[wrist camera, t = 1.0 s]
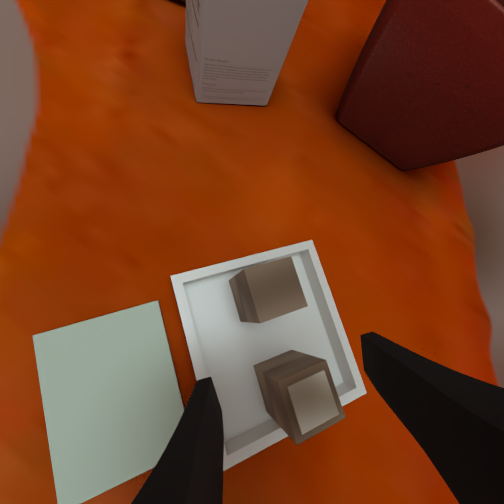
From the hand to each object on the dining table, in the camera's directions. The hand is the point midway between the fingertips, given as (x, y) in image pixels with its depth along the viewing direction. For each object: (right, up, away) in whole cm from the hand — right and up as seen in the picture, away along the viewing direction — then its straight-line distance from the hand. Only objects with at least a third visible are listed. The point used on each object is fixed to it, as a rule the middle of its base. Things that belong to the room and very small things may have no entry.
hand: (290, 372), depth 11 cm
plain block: (-2, +1, +12) cm, 13 cm away
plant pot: (+18, +25, +25) cm, 39 cm away
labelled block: (+1, -6, +11) cm, 13 cm away
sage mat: (-12, -6, +8) cm, 16 cm away
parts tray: (-1, -3, +12) cm, 13 cm away
